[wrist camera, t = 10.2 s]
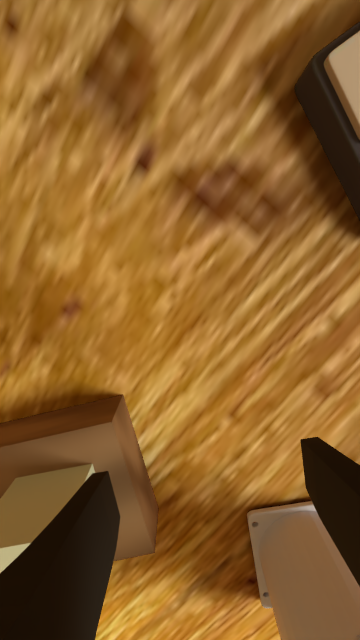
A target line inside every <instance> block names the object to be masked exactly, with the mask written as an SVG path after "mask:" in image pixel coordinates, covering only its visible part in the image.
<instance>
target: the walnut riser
mask: <svg viewBox="0 0 360 640" xmlns="http://www.w3.org/2000/svg"><path fill="white" fill-rule="evenodd" d="M87 464H93V467H94V470H95V473H98V472H104V471H108V472H109V476H110V479H111V483H112V487H113V490H114V494H115V498H116V502H117V505H118V509H119V513H120V524H119V533H118V540H117V547H116V552H115V556H114V560H113V561H117V560H122V559H127V558H132V557H137V556H141V555H146V554H151V553H155V544H156V532H157V521H158V509H159V508H158V505H157V502H156V499H155V495H154V492H153V489H152V486H151V483H150V479H149V476H148V473H147V470H146V467H145V463H144V460H143V457H142V454H141V451H140V447H139V444H138V441H137V438H136V435H135V431H134V428H133V425H132V422H131V419H130V415H129V412H128V409H127V406H126V403H125V399H124V396H123V395H120V396H115V397H111V398H107V399H103V400H98V401H94V402H90V403H86V404H81V405H77V406H73V407H68V408H64V409H60V410H56V411H51V412H47V413H43V414H39V415H34V416H30V417H26V418H21V419H17V420H13V421H9V422H4V423H0V499H1V497H2V496H3V495H4V493H5V492H6V491H7V489H8V488H9V487H10V485H11V484H12V482H13V481H14V480H15V478H18V477H23V476H29V475H34V474H39V473H44V472H50V471H55V470H61V469H66V468H71V467H77V466H82V465H87Z"/></svg>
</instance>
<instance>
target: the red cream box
mask: <svg viewBox="0 0 360 640" xmlns="http://www.w3.org/2000/svg"><path fill="white" fill-rule="evenodd" d="M295 93H296V96H297V98H298V100H299V102H300V104H301V106H302V108H303V110H304V111H305V113H306V115H307V117H308V119H309V121H310V123H311V125H312V127H313V129H314V131H315V133H316V135H317V137H318V139H319V141H320V143H321V145H322V147H323V149H324V151H325V153H326V155H327V157H328V159H329V161H330V163H331V165H332V167H333V169H334V171H335V173H336V175H337V176H338V178H339V180H340V182H341V184H342V186H343V188H344V190H345V192H346V194H347V196H348V198H349V200H350V202H351V204H352V206H353V208H354V210H355V212H356V214H357V216H358V218H359V220H360V22H358V23H357V24H356V25H354V26H353V27H351V28H350V29H349V30H347V31H346V32H345V33H343V34H342V35H341V36H339V37H338V38H337V39H335V40H334V41H333V42H331V43H330V44H328V45H327V46H326V47H324V48H323V49H322V50H320V51H319V52H318V53H316V54H315V55H314V56H313V58H312V59H311V61H310V62H309V64H308V65H307V67H306V68H305V70H304V72H303V73H302V75H301V77H300V78H299V80H298V81H297V83H296V85H295Z"/></svg>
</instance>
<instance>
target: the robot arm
mask: <svg viewBox="0 0 360 640" xmlns="http://www.w3.org/2000/svg"><path fill="white" fill-rule="evenodd" d="M301 448H302V457H303V466H304V475H305V484H306V489H307V491H308V493H309V496H310V498H311V500H312V501H309V502H302V503H296V504H289V505H283V506H276V507H270V508H263V509H257V510H251V511H249V512H248V514H247V520H248V526H249V532H250V538H251V544H252V550H253V557H254V563H255V569H256V575H257V581H258V587H259V593H260V599H261V604H262V606H263V607H264V608H273V611H274V615H275V619H276V623H277V626H278V630H279V634H280V638H281V640H360V465H359V464H357V463H355V462H354V461H352V460H351V459H349V458H348V457H346V456H345V455H343V454H342V453H340V452H339V451H337V450H336V449H335V448H333V447H332V446H330V445H329V444H327V443H326V442H324V441H323V440H321V439H320V438H318V437H313V438H307V439H301ZM253 522H256V523H253ZM119 524H120V513H119V509H118V505H117V502H116V498H115V494H114V490H113V487H112V483H111V479H110V476H109V472H108V471H104V472H98V473H92V474H91V476H90V477H89V478H88V479H87V480H86V481H85V482H84V484H83V485H82V486H81V487H80V488H79V489H78V491H77V492H76V493H75V494H74V495H73V497H72V498H71V499H70V500H69V501H68V502H67V504H66V505H65V506H64V507H63V508H62V509H61V511H60V512H59V513H58V514H57V515H56V516H55V518H54V519H53V520H52V521H51V522H50V523H49V524H48V525H47V526H46V527H45V528H44V530H43V531H42V532H41V533H40V534H39V535H38V536H37V537H36V538H35V539H34V540H33V541H32V542H31V544H30V545H29V546H28V547H27V548H26V549H25V550H24V551H23V552H22V553H21V554H20V555H19V556H18V557H17V558H16V559H15V560H14V561H13V562H12V563H11V564H9V565H8V566H7V567H6V568H5V569H4V570H3V571H2V572H1V573H0V640H95V636H96V631H97V627H98V623H99V618H100V614H101V610H102V606H103V602H104V598H105V594H106V590H107V586H108V581H109V577H110V573H111V569H112V565H113V560H114V556H115V552H116V547H117V540H118V533H119Z"/></svg>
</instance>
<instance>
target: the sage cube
mask: <svg viewBox="0 0 360 640" xmlns="http://www.w3.org/2000/svg"><path fill="white" fill-rule="evenodd" d="M92 473H95V470H94V467H93V464H87V465H82V466H77V467H71V468H66V469H61V470H55V471H50V472H44V473H39V474H34V475H29V476H23V477H18V478H15V480H14V481H13V482H12V484H11V485H10V487H9V488H8V489H7V491H6V492H5V493H4V495H3V496H2V497H1V499H0V573H1V572H2V571H3V570H4V569H5V568H6V567H7V566H8V565H9V564H11V563H12V562H13V561H14V560H15V559H16V558H17V557H18V556H19V555H20V554H21V553H22V552H23V551H24V550H25V549H26V548H27V547H28V546H29V545H30V544H31V542H32V541H33V540H34V539H35V538H36V537H37V536H38V535H39V534H40V533H41V532H42V531H43V530H44V528H45V527H46V526H47V525H48V524H49V523H50V522H51V521H52V520H53V519H54V518H55V516H56V515H57V514H58V513H59V512H60V511H61V509H62V508H63V507H64V506H65V505H66V504H67V502H68V501H69V500H70V499H71V498H72V497H73V495H74V494H75V493H76V492H77V491H78V489H79V488H80V487H81V486H82V485H83V484H84V482H85V481H86V480H87V479H88V478H89V477H90V476H91V474H92Z"/></svg>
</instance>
